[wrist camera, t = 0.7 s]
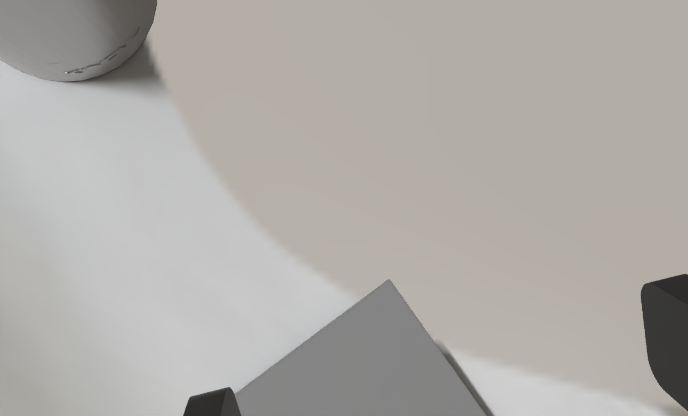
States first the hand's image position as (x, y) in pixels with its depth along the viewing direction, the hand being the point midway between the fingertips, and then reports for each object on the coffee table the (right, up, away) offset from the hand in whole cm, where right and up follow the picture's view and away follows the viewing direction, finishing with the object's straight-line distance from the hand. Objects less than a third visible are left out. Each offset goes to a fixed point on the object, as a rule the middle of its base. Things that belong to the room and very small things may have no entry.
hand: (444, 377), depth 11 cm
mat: (-1, -9, +21) cm, 23 cm away
